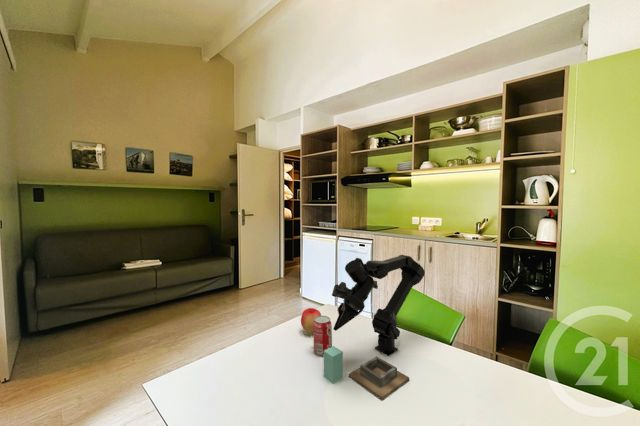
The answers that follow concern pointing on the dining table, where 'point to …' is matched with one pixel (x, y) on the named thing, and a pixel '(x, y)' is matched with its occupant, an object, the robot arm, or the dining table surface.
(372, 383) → the square socket base
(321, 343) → the soda can
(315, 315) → the apple
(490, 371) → the dining table surface
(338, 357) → the rail post
